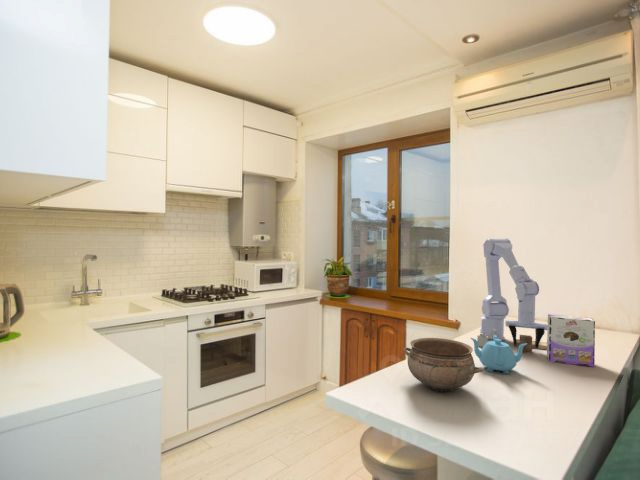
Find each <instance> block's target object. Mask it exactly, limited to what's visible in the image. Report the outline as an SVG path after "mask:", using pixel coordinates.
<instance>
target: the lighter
mask: <svg viewBox="0 0 640 480" xmlns="http://www.w3.org/2000/svg"><path fill="white" fill-rule="evenodd" d="M496 332H497V330H495V329H492V331H491V333H490V334H489V336H486V334H483V333H479V334H478V335H477V338H476V340H477V342H478V347H480V348H483V347H484V345H485V344H486V343H487V342H489V341H490V340H493V339H492V338H493V335H494V334H495V333H496Z"/></svg>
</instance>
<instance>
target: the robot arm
mask: <svg viewBox="0 0 640 480" xmlns="http://www.w3.org/2000/svg"><path fill="white" fill-rule="evenodd" d="M482 246H483V257H484V258H485V268H486V269H485V270H486V272H485V273H486V284H487V296H486V297H484V298H483V300H482V306H481V312H482V314H483V316H481V317H480V330H479V331H480V333H479V334H481V333H483V334H486V336H489V334H490V333H491V331H492V329H495V330H497V332H496V333H495V335H496V336H497V339H500V340H502V341H506V338H505V333H504V331H505V328H504V327H508V328H509V331H510V333H511V337H512V340H513V342H514V343H513V346H514V347H517V346H516V339H517V328H523V329H534V330H535V331H534V332H535V340H534V341H535V347H536V348H538V345H539V342H541V340H542V338H543V336H544V335H545V331H547V330H548V323H539V322H535V319H536V318H535V317H536V296H537V295H539V293H540V287H539V284H538V281H535V280H533V279H532V278H531V277H530V275H529V274H528V273H527V271H526V269H525V267H524V266H523V265H520V264H519V263H518V261H517V259H516V256H515V255H514V252H513V244H512V242H511V240H510V239H509V238H490V237H489V238H486V239H485V241H484V243H483V245H482ZM501 258H502V260H504V262H505V263H506V264H507V266H508V268H509V271H508V273H509V275H510V276H511V279H512V281H513V282H514V284H515V288H514V289H515V293H516V298H517V300H518V315H517V316H518V317H517V320H505V319H506V317H507V316H508V315H509V311H510V309H509V308H510V307H509V306H508V302H507V299H506V298H505V297H503V295H502V289H501V287H502V286H501V279H500V277H501V276H500V263H499V261H500V260H501ZM504 324H505V326H504ZM491 340H493V338H492V339H491ZM536 348H535V349H536Z"/></svg>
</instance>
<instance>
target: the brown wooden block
mask: <svg viewBox="0 0 640 480" xmlns="http://www.w3.org/2000/svg"><path fill="white" fill-rule="evenodd" d="M519 339H520V342H519V346H520V345H521V344H525V343H527V344H526V345H525V346H524V347H523V350H522V353H526V354H527V353H528V354H533V348H532V341H533V337H532V335H526V334H519Z"/></svg>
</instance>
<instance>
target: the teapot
mask: <svg viewBox="0 0 640 480" xmlns="http://www.w3.org/2000/svg"><path fill="white" fill-rule="evenodd" d="M470 339H471V340H472V341H473V345H474V346H473V348H474V349H473V351H474V354H475V356H476V357H477V358H478V359H479V362H480V363H481V364H482V365H483V366H484V367H485V368H487V369H486V371H487V372H490V373H492V372H494V370H495V371H502V373H503V374H506V375H510V374H511V373H510V371H511V370H514V368H515V367H516V366H517V363H518V362H520V361H521V360H522V358H523V352H522V350H523V347H524V346H525V345H526V344H527V343H525V344H521V345H520V346H519V347H517V348H518V349H517V352H516V353H514V350H512V347H511V346H510V345H509V344H508V343H506V342H503V340H500V339H497V336H496V335H495V334H494V335H493V339H492V340H491V341H490V340H489V342H487V343H486V344H485V345H484V347H481V348H482V349H480V348H479V346H478V342H477V338H476V339H475V338H473V337H470Z"/></svg>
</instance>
